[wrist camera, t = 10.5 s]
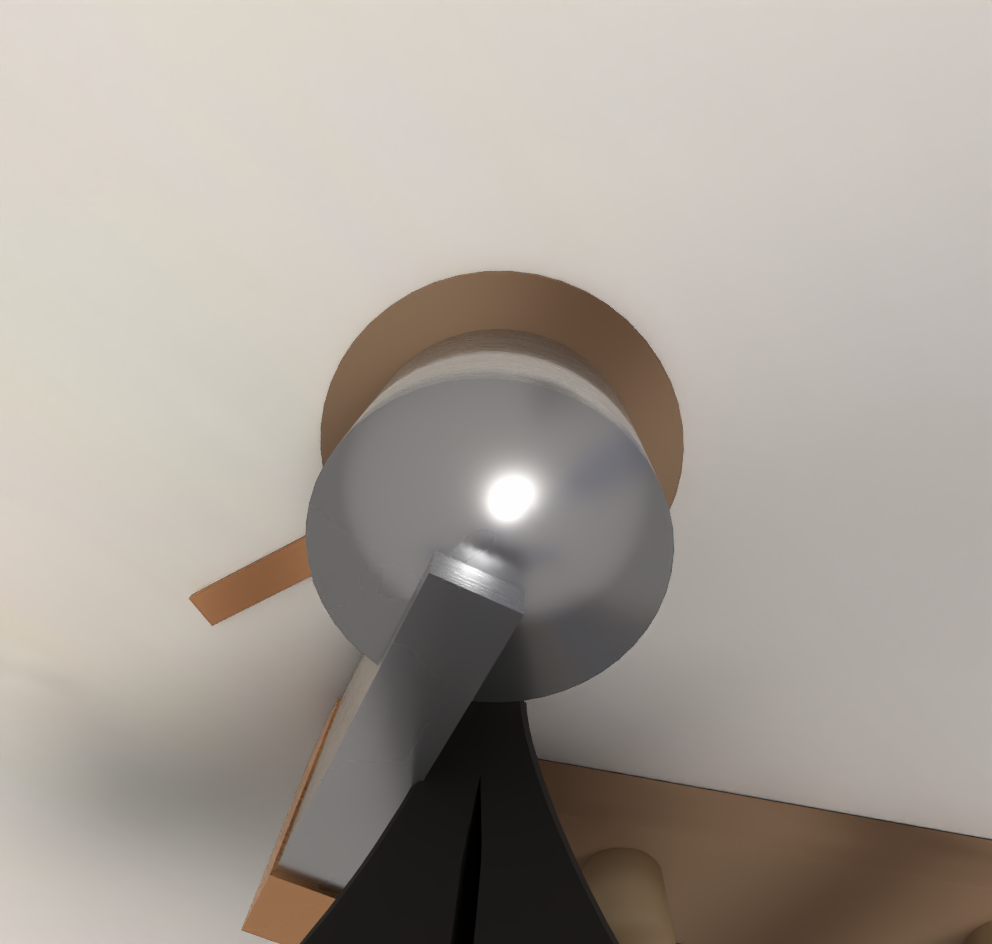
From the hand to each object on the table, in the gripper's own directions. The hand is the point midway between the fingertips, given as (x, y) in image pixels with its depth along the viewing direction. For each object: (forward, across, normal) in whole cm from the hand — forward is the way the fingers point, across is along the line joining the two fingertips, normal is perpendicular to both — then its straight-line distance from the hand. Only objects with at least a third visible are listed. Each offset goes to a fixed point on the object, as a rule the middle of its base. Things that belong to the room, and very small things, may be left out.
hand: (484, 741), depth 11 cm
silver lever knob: (+1, +1, -2) cm, 3 cm away
